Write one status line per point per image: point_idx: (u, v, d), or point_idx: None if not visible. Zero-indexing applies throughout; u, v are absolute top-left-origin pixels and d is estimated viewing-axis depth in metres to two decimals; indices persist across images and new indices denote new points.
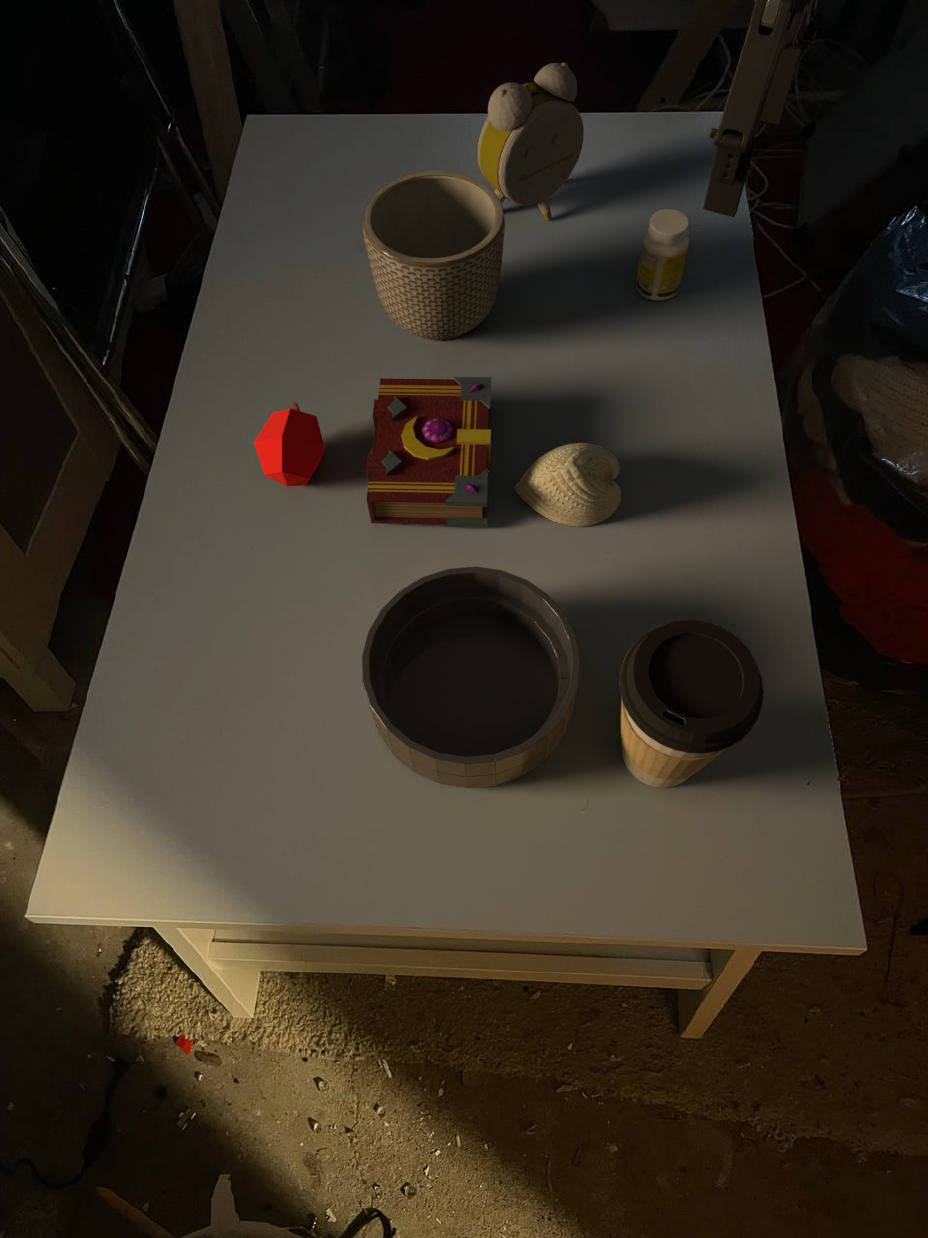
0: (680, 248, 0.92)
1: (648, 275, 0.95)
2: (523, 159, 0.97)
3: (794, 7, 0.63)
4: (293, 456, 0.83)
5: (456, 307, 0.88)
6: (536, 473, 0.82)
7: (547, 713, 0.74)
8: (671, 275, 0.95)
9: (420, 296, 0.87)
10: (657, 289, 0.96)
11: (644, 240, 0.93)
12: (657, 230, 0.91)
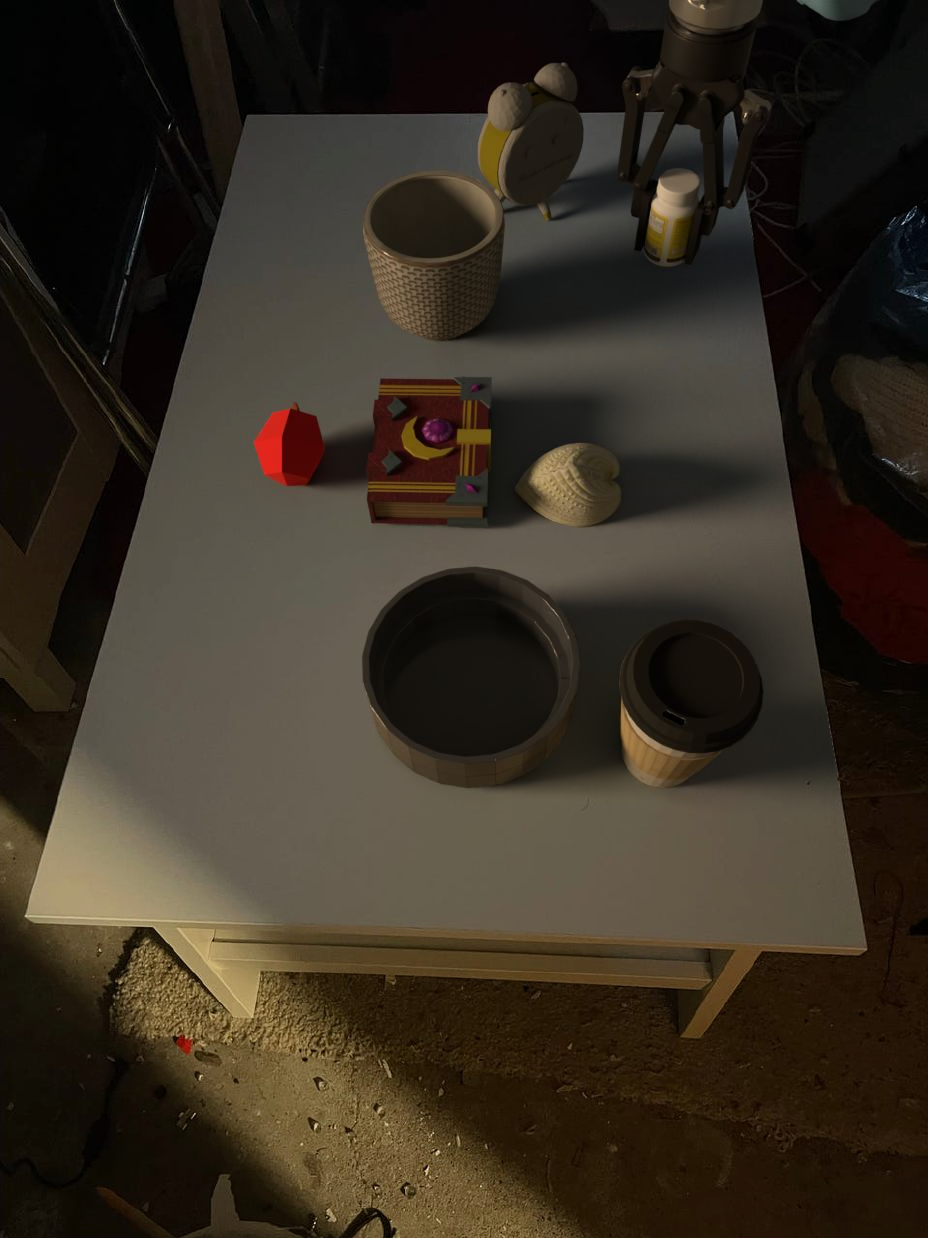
0: (690, 209, 0.88)
1: (657, 239, 0.91)
2: (523, 159, 0.97)
3: None
4: (293, 456, 0.83)
5: (456, 307, 0.88)
6: (536, 473, 0.82)
7: (547, 713, 0.74)
8: (680, 238, 0.90)
9: (420, 296, 0.87)
10: (666, 254, 0.92)
11: (653, 201, 0.89)
12: (666, 189, 0.87)
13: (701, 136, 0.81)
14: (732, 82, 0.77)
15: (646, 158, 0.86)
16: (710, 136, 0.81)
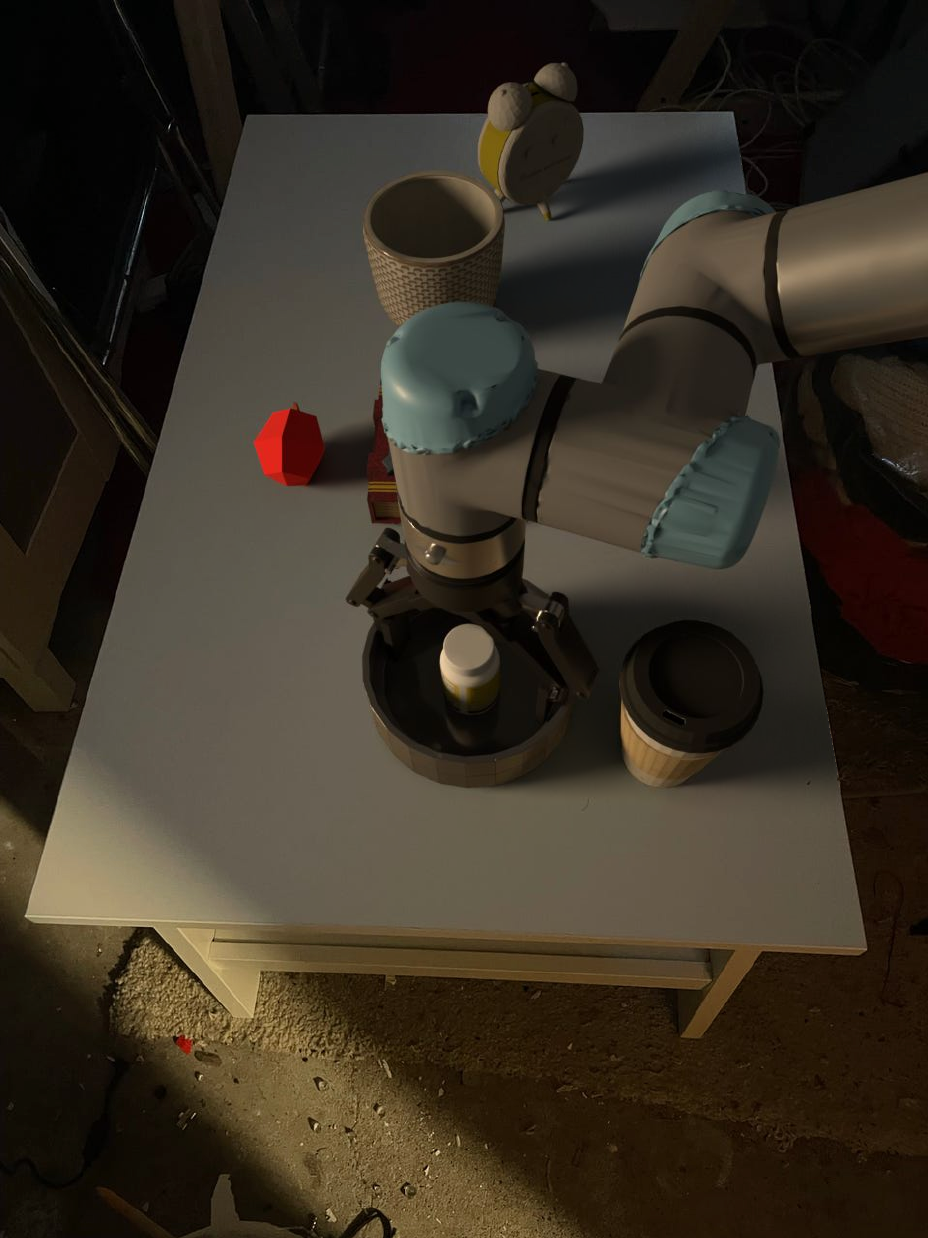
0: (485, 677, 0.69)
1: (451, 695, 0.72)
2: (523, 159, 0.97)
3: None
4: (293, 456, 0.83)
5: None
6: None
7: None
8: (479, 698, 0.71)
9: (420, 296, 0.87)
10: (465, 708, 0.73)
11: (440, 660, 0.70)
12: (450, 662, 0.68)
13: (493, 638, 0.61)
14: None
15: (388, 605, 0.66)
16: (502, 638, 0.61)
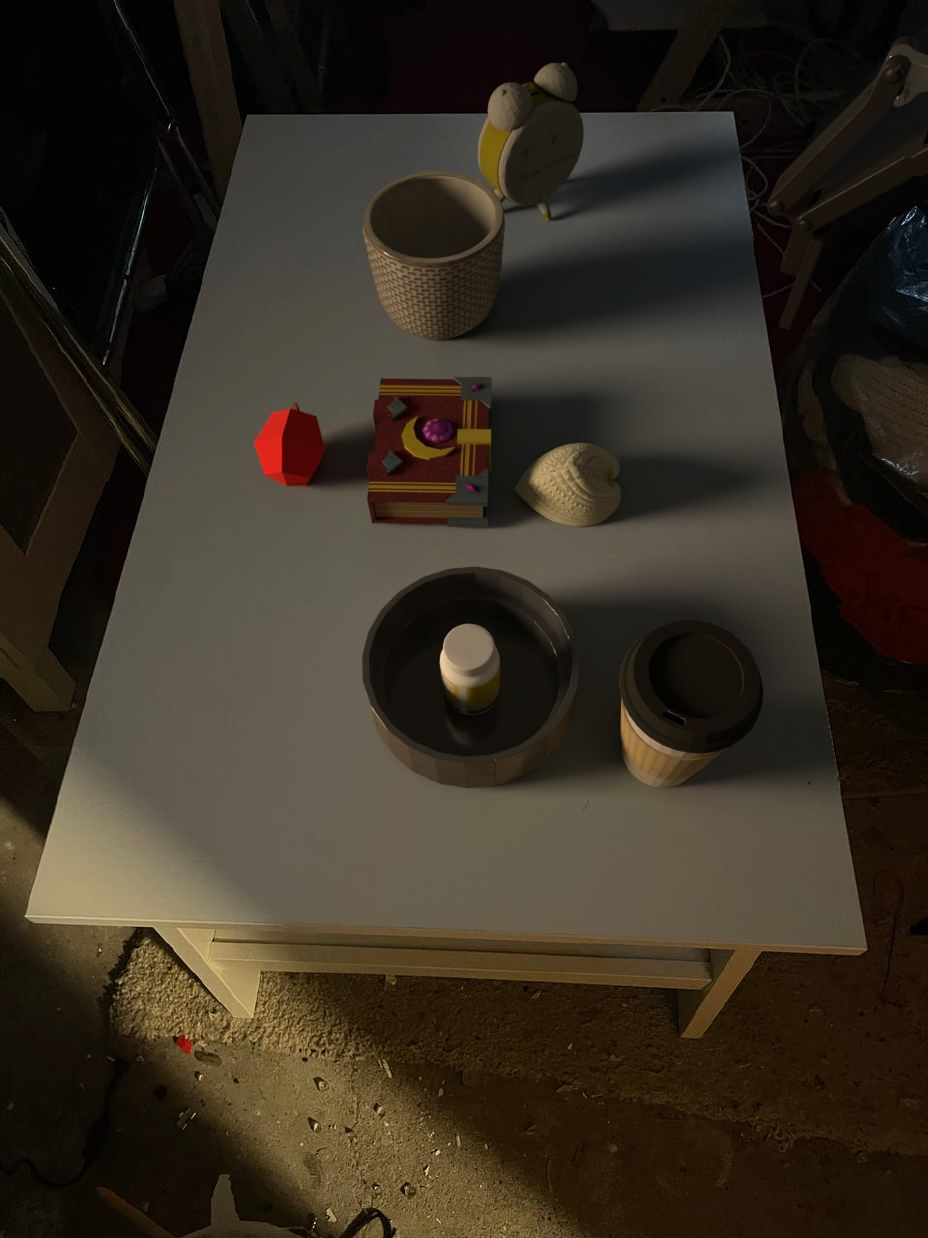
0: (485, 677, 0.69)
1: (451, 695, 0.72)
2: (523, 159, 0.97)
3: None
4: (293, 456, 0.83)
5: (456, 307, 0.88)
6: (536, 473, 0.82)
7: (547, 713, 0.74)
8: (479, 698, 0.71)
9: (420, 296, 0.87)
10: (465, 708, 0.73)
11: (440, 660, 0.70)
12: (450, 662, 0.68)
13: None
14: None
15: (850, 191, 0.48)
16: None
